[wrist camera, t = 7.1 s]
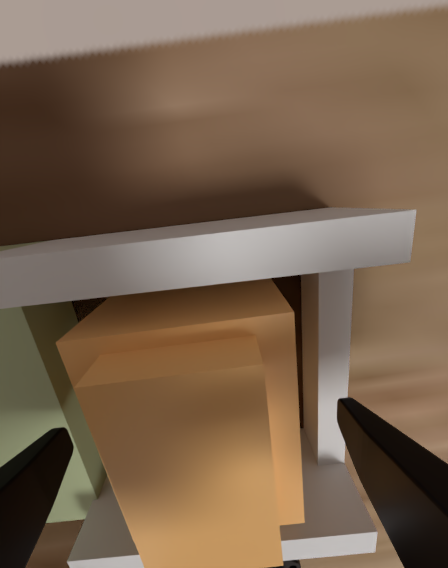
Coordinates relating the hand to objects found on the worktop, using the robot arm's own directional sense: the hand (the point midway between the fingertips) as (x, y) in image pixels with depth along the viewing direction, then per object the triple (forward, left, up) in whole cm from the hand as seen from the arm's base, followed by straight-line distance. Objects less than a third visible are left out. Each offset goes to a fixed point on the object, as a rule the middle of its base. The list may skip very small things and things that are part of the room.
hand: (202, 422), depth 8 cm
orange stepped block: (0, 0, -4) cm, 4 cm away
